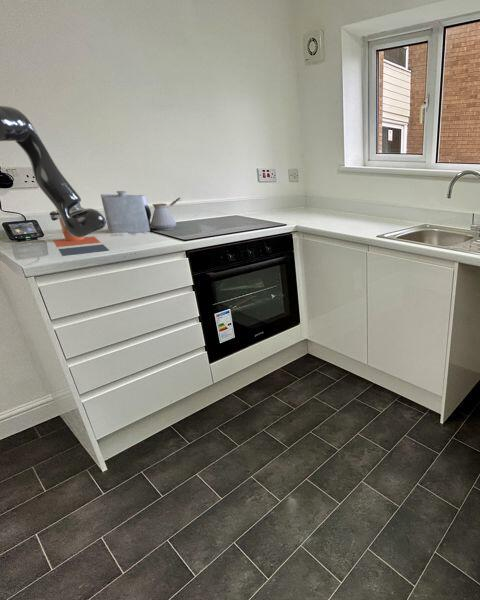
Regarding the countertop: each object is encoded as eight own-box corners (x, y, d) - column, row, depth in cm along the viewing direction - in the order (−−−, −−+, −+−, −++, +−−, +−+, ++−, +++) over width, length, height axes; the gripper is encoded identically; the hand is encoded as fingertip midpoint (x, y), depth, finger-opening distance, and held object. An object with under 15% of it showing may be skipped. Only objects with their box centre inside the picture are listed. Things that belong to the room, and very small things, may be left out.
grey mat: (62, 256, 131) (61, 254, 131) (58, 250, 139) (58, 249, 138) (109, 250, 141) (108, 249, 141) (103, 245, 148) (103, 244, 148)
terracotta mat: (57, 248, 141) (57, 247, 141) (53, 241, 152) (52, 240, 152) (101, 243, 151) (101, 242, 151) (94, 237, 162) (94, 236, 162)
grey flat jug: (154, 228, 187) (147, 194, 180) (151, 230, 182) (143, 194, 176) (112, 228, 182) (103, 193, 175) (107, 230, 177) (98, 194, 171)
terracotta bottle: (66, 241, 150) (52, 196, 144) (64, 239, 154) (50, 195, 148) (85, 239, 155) (72, 196, 148) (83, 237, 159) (70, 195, 152)
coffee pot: (166, 231, 180) (160, 201, 174) (146, 230, 181) (139, 200, 176) (194, 225, 200) (190, 197, 194) (176, 223, 201) (171, 196, 196)
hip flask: (149, 230, 181) (140, 190, 174) (151, 231, 178) (141, 190, 171) (111, 233, 171) (99, 190, 164) (111, 234, 169) (100, 191, 161)
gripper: (100, 205, 129) (93, 201, 140) (47, 208, 119) (43, 203, 130) (106, 225, 132) (98, 220, 142) (54, 230, 122) (50, 224, 132)
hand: (72, 212), depth 136 cm, fingers closed on steel canister, 5 cm apart
